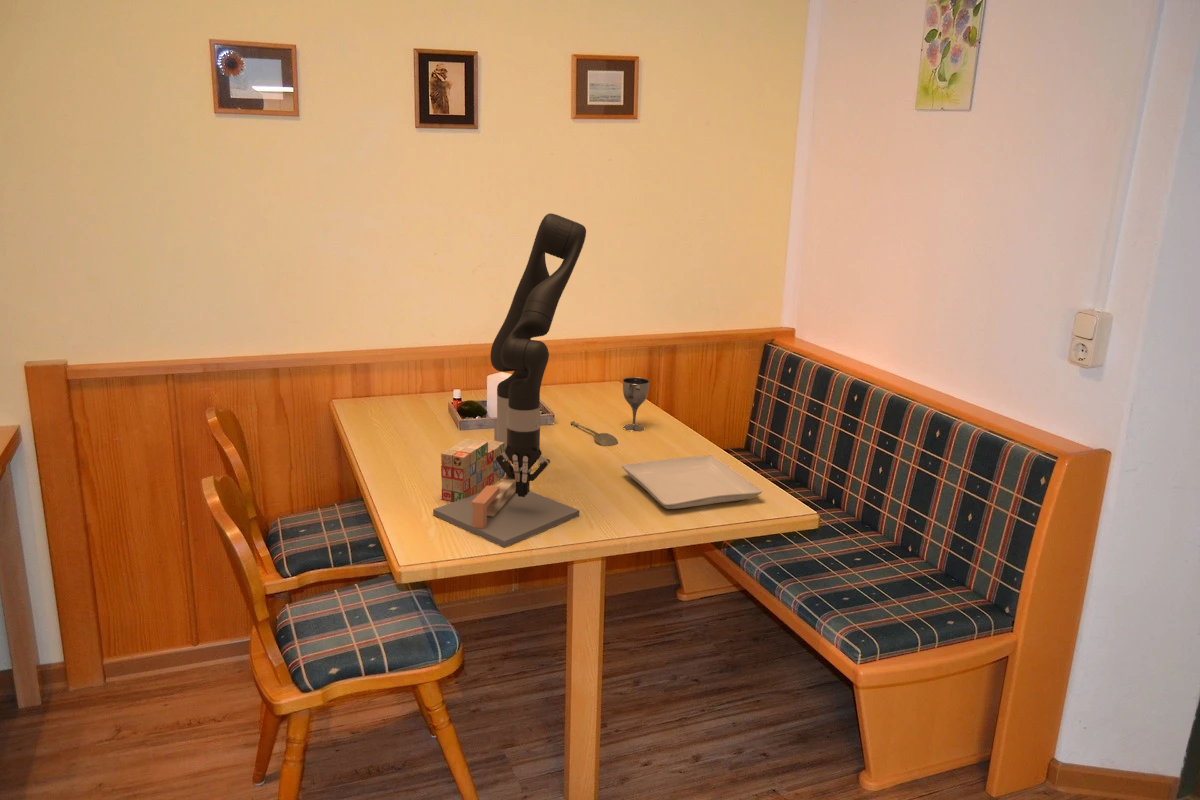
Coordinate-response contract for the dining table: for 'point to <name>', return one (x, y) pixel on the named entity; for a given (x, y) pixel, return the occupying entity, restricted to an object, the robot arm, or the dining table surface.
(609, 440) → the soupspoon
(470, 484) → the stack of blocks
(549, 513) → the board
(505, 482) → the arm link
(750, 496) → the square plate
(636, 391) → the wine glass
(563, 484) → the dining table surface
